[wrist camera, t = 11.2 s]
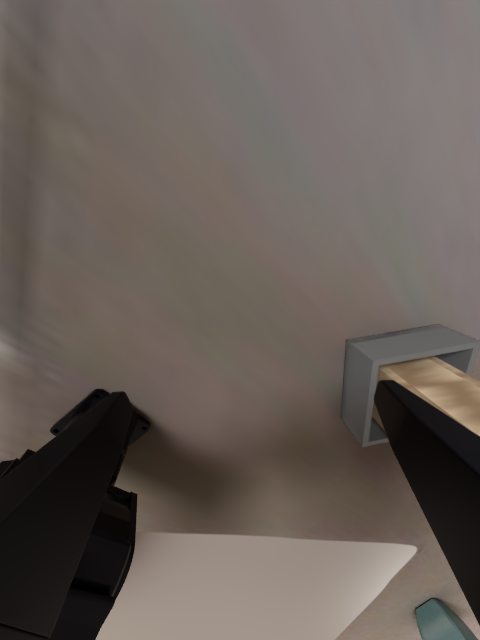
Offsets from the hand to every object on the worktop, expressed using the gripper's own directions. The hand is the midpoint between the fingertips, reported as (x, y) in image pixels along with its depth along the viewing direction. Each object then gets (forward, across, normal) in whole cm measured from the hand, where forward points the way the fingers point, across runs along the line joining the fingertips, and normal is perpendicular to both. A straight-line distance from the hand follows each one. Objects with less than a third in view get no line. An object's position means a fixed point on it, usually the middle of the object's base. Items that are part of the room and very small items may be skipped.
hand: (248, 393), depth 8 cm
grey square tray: (+13, -15, +13) cm, 24 cm away
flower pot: (+7, -36, +79) cm, 87 cm away
